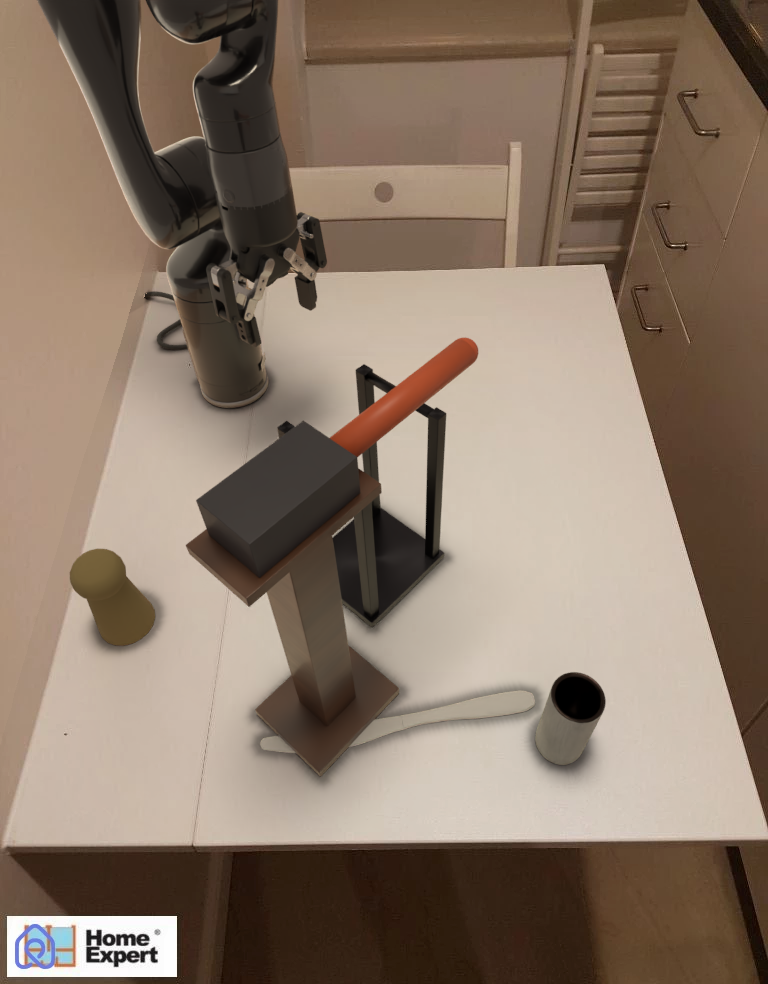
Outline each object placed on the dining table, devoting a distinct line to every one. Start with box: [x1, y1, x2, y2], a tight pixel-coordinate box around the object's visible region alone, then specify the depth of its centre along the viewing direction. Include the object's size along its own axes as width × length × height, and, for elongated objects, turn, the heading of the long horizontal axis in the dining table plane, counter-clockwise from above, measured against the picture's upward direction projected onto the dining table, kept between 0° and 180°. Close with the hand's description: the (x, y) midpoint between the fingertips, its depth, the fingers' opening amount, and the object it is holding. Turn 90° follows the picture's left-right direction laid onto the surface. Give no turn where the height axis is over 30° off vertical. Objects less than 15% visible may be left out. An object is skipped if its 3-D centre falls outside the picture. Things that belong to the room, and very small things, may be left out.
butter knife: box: [259, 689, 536, 754], centre depth 70 cm, size 1×27×3 cm
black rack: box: [276, 363, 447, 628], centre depth 73 cm, size 11×12×23 cm
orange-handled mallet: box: [195, 337, 479, 578], centre depth 49 cm, size 5×24×4 cm, turn 137°
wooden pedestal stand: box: [185, 467, 400, 777], centre depth 59 cm, size 9×12×31 cm
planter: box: [534, 671, 607, 766], centre depth 64 cm, size 4×4×10 cm
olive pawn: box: [69, 548, 156, 647], centre depth 74 cm, size 6×6×11 cm
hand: (281, 325), depth 82 cm, fingers open, 8 cm apart
